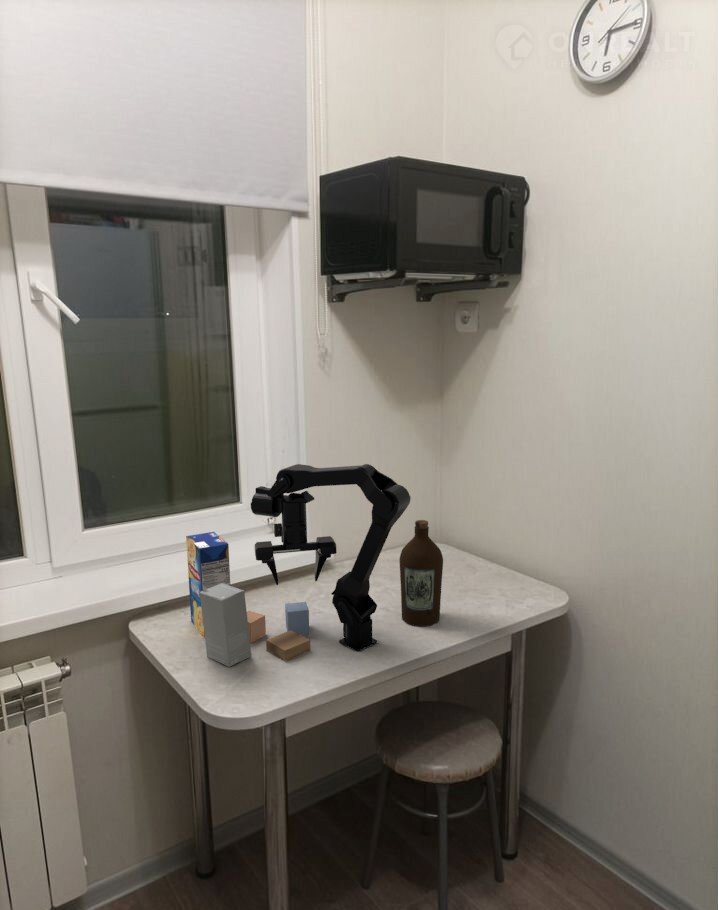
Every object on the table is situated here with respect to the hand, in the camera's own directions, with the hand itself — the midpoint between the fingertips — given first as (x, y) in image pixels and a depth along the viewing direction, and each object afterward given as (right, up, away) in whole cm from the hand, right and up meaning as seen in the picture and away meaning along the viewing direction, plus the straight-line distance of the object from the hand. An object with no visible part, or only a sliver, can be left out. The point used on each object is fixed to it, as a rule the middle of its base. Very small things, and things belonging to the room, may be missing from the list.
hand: (296, 582), depth 162 cm
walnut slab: (-1, -14, -8) cm, 17 cm away
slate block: (0, -12, +2) cm, 12 cm away
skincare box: (-14, -15, -11) cm, 23 cm away
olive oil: (+30, -11, +8) cm, 33 cm away
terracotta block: (-11, -13, -1) cm, 17 cm away
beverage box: (-21, -12, +4) cm, 25 cm away
